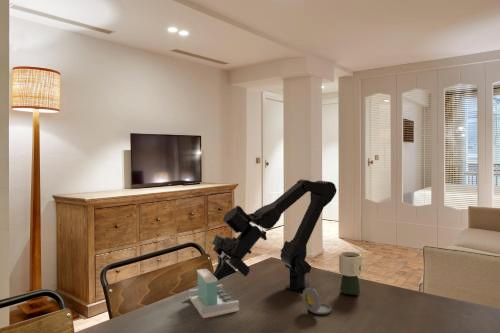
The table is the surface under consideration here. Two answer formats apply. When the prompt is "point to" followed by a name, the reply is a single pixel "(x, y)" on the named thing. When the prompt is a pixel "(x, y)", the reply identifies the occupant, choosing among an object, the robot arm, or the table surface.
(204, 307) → the white slotted tray
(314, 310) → the pocket watch
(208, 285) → the teal and cream panel
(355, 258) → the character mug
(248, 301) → the table surface
